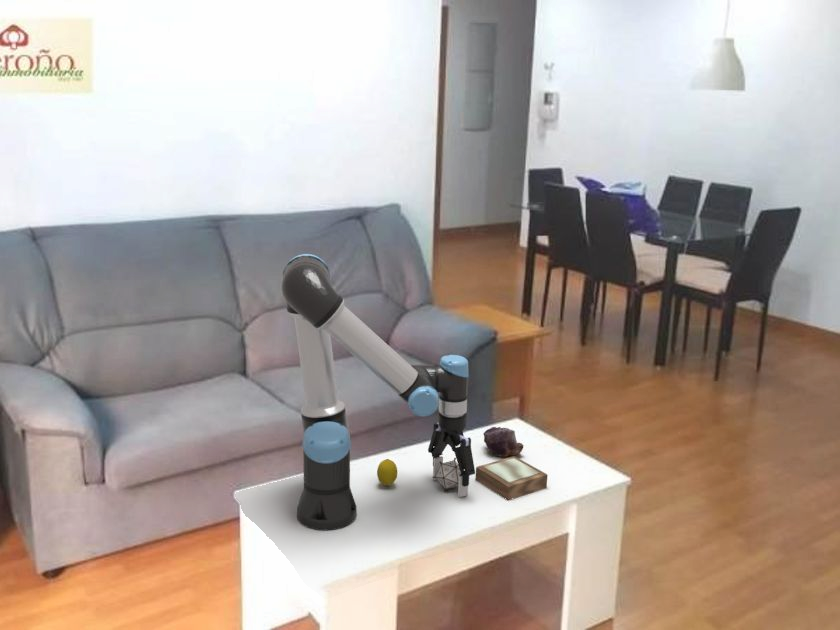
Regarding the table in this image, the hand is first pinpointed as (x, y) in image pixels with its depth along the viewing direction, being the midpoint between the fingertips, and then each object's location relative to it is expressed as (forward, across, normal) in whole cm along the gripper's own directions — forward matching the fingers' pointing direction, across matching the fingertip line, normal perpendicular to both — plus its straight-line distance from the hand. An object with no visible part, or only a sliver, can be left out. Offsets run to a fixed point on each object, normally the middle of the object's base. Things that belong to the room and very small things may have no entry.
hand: (449, 487), depth 237 cm
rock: (0, +10, -26) cm, 28 cm away
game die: (0, 0, 0) cm, 0 cm away
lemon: (0, +10, +14) cm, 17 cm away
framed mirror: (0, -7, -16) cm, 17 cm away
